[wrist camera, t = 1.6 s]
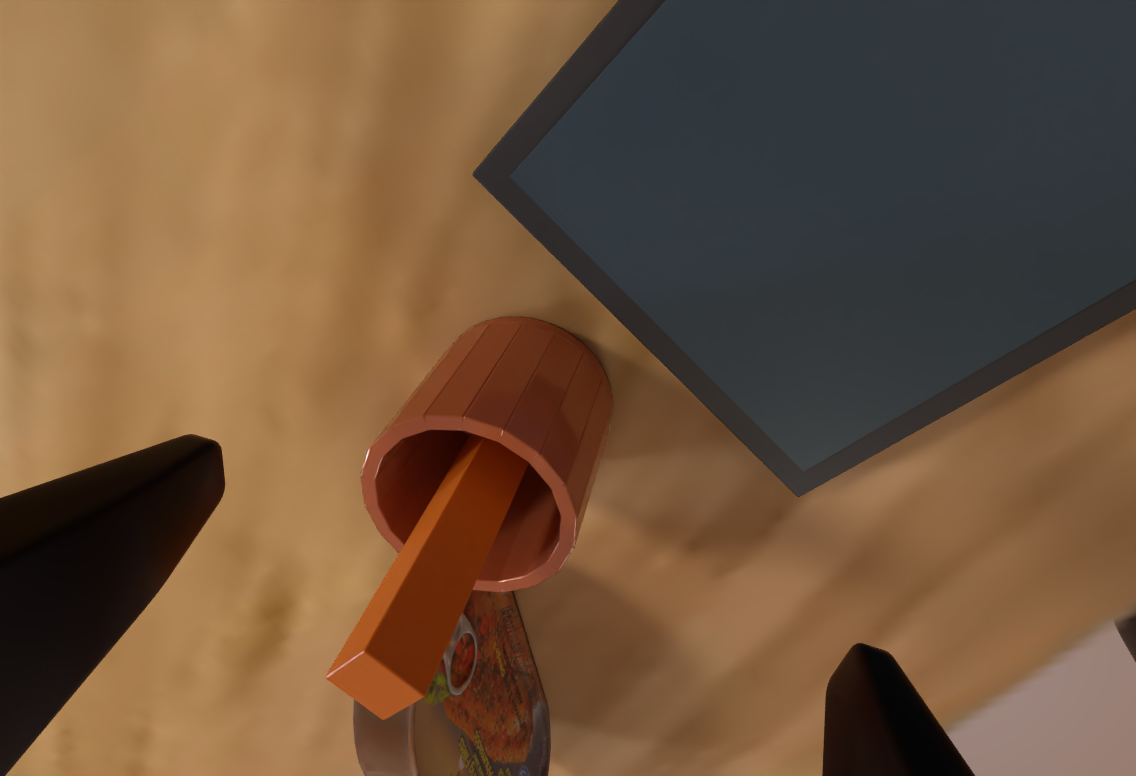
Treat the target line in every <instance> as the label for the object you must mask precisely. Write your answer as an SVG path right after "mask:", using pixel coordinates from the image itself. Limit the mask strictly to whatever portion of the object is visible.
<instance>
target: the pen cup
mask: <svg viewBox="0 0 1136 776" xmlns="http://www.w3.org/2000/svg"><path fill="white" fill-rule="evenodd" d="M612 411H613V400H612V393H611V388H610V384H609V382H608V379H607V376H606V374H605V372H604V370H603V369H602V367H601V365H600V363H599V362H598V361H597V359H596V358H595V356H594V355H593V354H592V353H591V352H590V351H589V350H588V349H587V347H586V346H584V345H583V344H582V343H581V342H580V341H579V340H577V339H576V338H575V337H573V336H572V335H570V334H569V333H567V332H566V331H564V330H562V329H560V328H558V327H556V326H554V325H552V324H549V323H546V322H544V321H540V320H536V319H532V318H524V317H502V318H495V319H491V320H488V321H484V322H482V323H480V324H477V325H475V326H473V327H472V328H470V329H468V330H467V331H466V332H464V333H463V334H462V335H461V336H460V337H459V338H458V339H457V340H456V341H455V342H454V343H453V345H452V346H451V347H450V348H449V349H448V350H447V351H446V352H445V353H444V354H443V355H442V357H441V358H440V359H439V360H438V362H437V363H436V364H435V365H434V367H433V368H432V369H431V370H430V372H429V373H428V374H427V375H426V377H425V378H424V379H423V381H422V382H421V383H420V384H419V386H418V387H417V388H416V389H415V391H414V392H413V393H412V394H411V396H410V397H409V398H408V399H407V401H406V402H405V403H404V404H403V406H402V407H401V408H400V409H399V411H398V412H397V413H396V414H395V416H394V417H393V418H392V419H391V421H390V422H389V423H388V424H387V426H386V427H385V428H384V429H383V431H382V432H381V433H380V434H379V436H378V437H377V438H376V439H375V441H374V442H373V443H372V444H371V446H370V448H369V449H368V452H367V456H366V459H365V462H364V465H363V468H362V471H361V484H362V491H363V498H364V504H365V507H366V509H367V511H368V513H369V515H370V517H371V518H372V520H373V522H374V524H375V526H376V528H377V530H378V532H379V533H381V536H382V537H383V538H384V539H385V540H386V541H387V542H388V543H389V544H390V545H391V546H392V547H393V548H394V549H395V550H396V551H397V552H398V553H400V551H401V550H402V548H403V546H404V545H405V543H406V541H407V540H408V538H409V536H410V535H411V533H412V531H413V530H414V528H415V526H416V525H417V523H418V521H419V520H420V518H421V516H422V515H423V513H424V511H425V510H426V508H427V506H428V505H429V503H430V501H431V500H432V498H433V496H434V495H435V493H436V491H437V490H438V488H439V486H440V485H441V483H442V481H443V480H444V478H445V476H446V475H447V473H448V471H449V470H450V468H451V466H452V465H453V463H454V461H455V460H456V458H457V456H458V455H459V453H460V451H461V450H462V448H463V446H464V445H465V443H466V441H467V440H468V438H469V436H470V435H471V433H472V434H476V435H479V436H482V437H485V438H488V439H491V440H494V441H497V442H499V443H501V444H502V445H504V446H505V447H507V448H508V449H510V450H511V451H513V452H514V453H516V454H517V455H519V456H520V457H522V458H523V459H525V460H526V461H528V462H529V464H528V466H527V468H526V471H525V473H524V475H523V477H522V480H521V482H520V484H519V486H518V489H517V491H516V493H515V495H514V498H513V500H512V502H511V504H510V507H509V509H508V511H507V513H506V516H505V518H504V520H503V522H502V525H501V527H500V529H499V531H498V534H497V536H496V538H495V540H494V543H493V545H492V547H491V549H490V552H489V554H488V556H487V558H486V561H485V563H484V565H483V567H482V570H481V572H480V574H479V576H478V579H477V581H476V583H475V585H474V588H473V590H478V591H489V592H501V593H502V592H509V591H514V590H519V589H524V588H529V587H533V586H536V585H538V584H539V583H541V582H542V581H544V580H546V579H547V578H549V577H550V576H552V575H553V574H555V573H557V572H558V571H559V570H560V569H561V568H562V566H563V565H564V563H565V562H566V560H567V559H568V557H569V555H570V554H571V552H572V551H573V549H574V547H575V544H576V541H577V538H578V534H579V531H580V528H581V524H582V521H583V518H584V514H585V511H586V508H587V504H588V501H589V498H590V494H591V491H592V488H593V484H594V481H595V477H596V474H597V471H598V467H599V464H600V461H601V457H602V454H603V451H604V447H605V444H606V441H607V437H608V434H609V427H610V423H611V419H612Z"/></svg>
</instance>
